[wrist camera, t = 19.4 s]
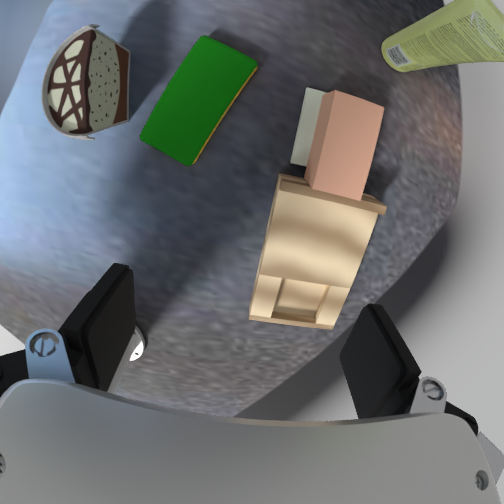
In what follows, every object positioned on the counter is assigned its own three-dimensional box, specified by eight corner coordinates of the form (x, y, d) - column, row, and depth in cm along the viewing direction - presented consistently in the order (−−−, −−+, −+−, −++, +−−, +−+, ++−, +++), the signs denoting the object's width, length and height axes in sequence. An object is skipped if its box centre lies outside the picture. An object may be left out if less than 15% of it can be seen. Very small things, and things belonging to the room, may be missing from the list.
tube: (411, 37, 21) (519, 5, 4) (422, 72, 23) (540, 64, 6) (374, 37, 22) (478, -15, 5) (386, 74, 24) (505, 52, 7)
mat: (361, 180, 30) (363, 181, 30) (290, 162, 30) (290, 163, 29) (378, 110, 26) (380, 110, 26) (305, 87, 26) (306, 87, 25)
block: (360, 200, 26) (384, 107, 21) (312, 188, 25) (335, 89, 21) (345, 188, 30) (365, 108, 26) (303, 178, 30) (322, 94, 26)
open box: (327, 316, 40) (334, 336, 36) (249, 305, 39) (248, 326, 35) (372, 195, 31) (387, 206, 27) (278, 172, 30) (282, 181, 26)
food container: (90, 52, 23) (42, 40, 14) (131, 41, 23) (88, 20, 14) (89, 139, 28) (39, 151, 19) (129, 133, 28) (83, 141, 19)
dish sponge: (145, 137, 29) (137, 138, 27) (206, 39, 24) (202, 33, 22) (194, 164, 31) (189, 168, 28) (259, 66, 25) (259, 62, 23)
